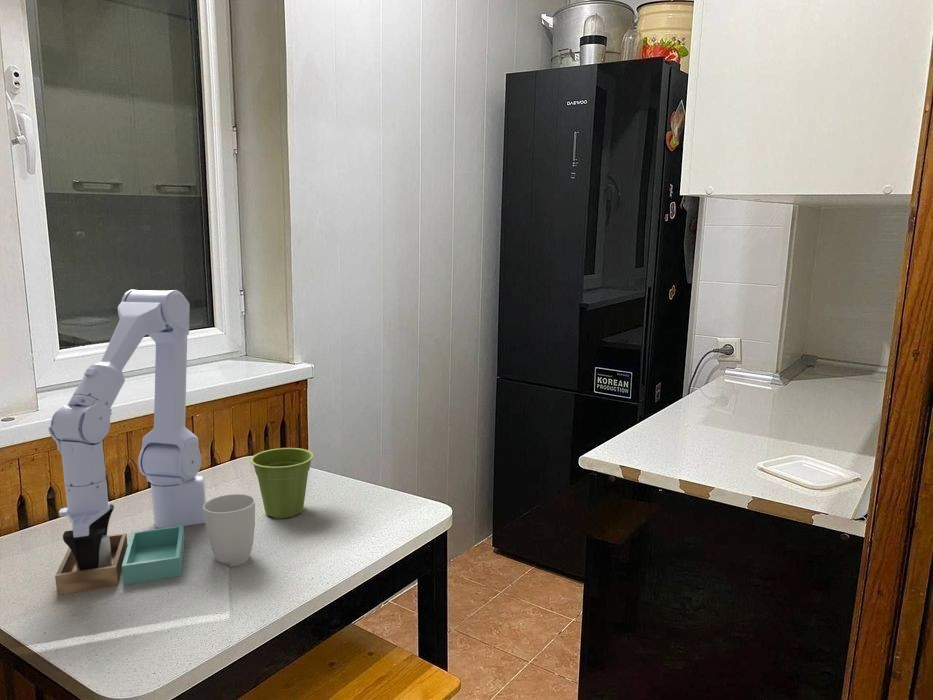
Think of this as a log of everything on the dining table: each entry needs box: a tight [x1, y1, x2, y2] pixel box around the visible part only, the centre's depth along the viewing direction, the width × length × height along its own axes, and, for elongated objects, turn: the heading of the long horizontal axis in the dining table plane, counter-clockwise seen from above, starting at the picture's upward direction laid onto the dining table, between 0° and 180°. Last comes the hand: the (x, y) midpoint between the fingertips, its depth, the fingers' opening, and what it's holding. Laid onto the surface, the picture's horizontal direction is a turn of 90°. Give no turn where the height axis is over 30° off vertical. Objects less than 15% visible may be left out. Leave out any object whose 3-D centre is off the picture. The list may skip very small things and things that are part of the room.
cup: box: [203, 493, 256, 568], centre depth 117 cm, size 8×8×10 cm
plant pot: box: [249, 447, 315, 519], centre depth 137 cm, size 12×12×11 cm
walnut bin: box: [54, 532, 129, 596], centre depth 113 cm, size 8×13×4 cm, turn 19°
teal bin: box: [121, 525, 186, 586], centre depth 116 cm, size 8×13×4 cm, turn 19°
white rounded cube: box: [76, 534, 112, 571], centre depth 113 cm, size 5×5×5 cm
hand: (93, 561), depth 113 cm, fingers open, 7 cm apart
